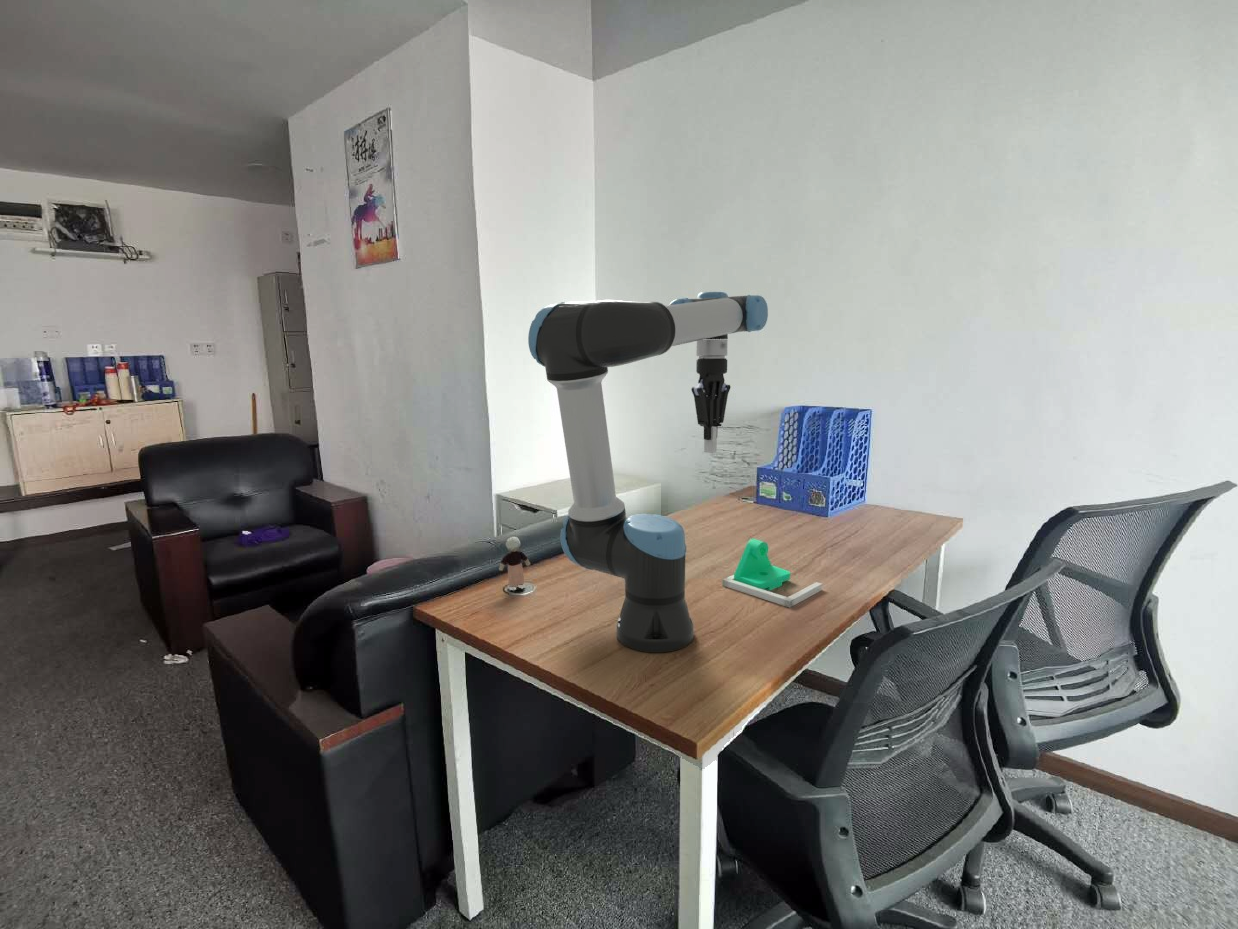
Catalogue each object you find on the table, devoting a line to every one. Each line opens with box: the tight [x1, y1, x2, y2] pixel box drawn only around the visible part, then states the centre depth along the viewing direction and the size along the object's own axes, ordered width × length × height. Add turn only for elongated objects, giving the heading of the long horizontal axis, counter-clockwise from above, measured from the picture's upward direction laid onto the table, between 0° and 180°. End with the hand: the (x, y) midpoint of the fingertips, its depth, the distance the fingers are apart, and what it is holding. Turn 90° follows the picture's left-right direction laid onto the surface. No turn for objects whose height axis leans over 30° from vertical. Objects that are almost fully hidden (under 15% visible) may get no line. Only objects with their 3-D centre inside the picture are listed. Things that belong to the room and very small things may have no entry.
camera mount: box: [733, 538, 791, 591], centre depth 149 cm, size 12×8×10 cm, turn 128°
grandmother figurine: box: [498, 536, 531, 588], centre depth 147 cm, size 8×4×13 cm, turn 134°
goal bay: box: [721, 574, 823, 609], centre depth 147 cm, size 14×18×2 cm
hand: (710, 452), depth 158 cm, fingers closed
